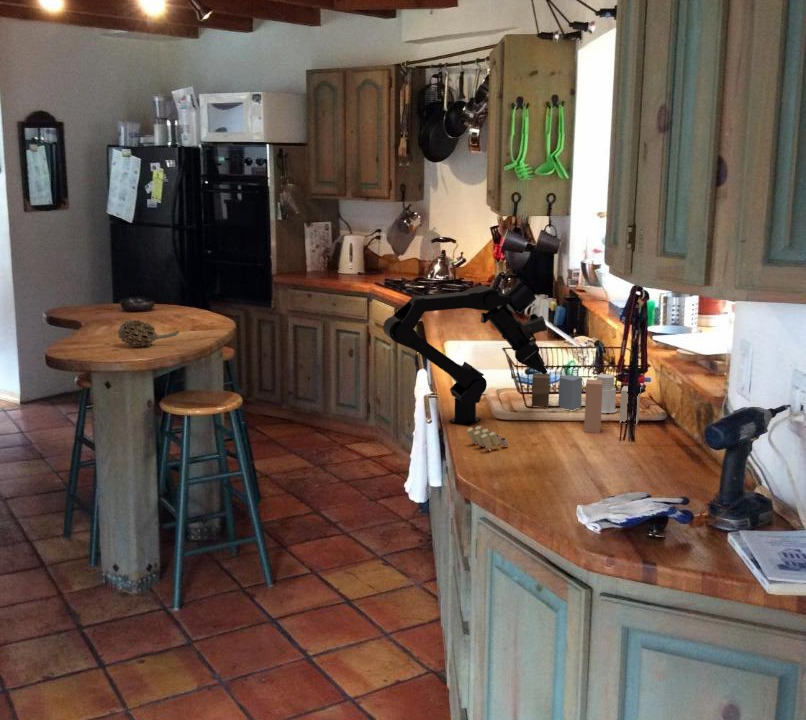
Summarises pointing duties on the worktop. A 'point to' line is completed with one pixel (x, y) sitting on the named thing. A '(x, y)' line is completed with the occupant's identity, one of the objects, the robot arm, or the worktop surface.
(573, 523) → the worktop surface
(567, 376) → the slate blue block
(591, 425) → the terracotta block
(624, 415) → the cream block
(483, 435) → the ammunition
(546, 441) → the worktop surface
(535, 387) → the walnut block
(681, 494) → the worktop surface
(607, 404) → the downlight
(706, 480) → the worktop surface
